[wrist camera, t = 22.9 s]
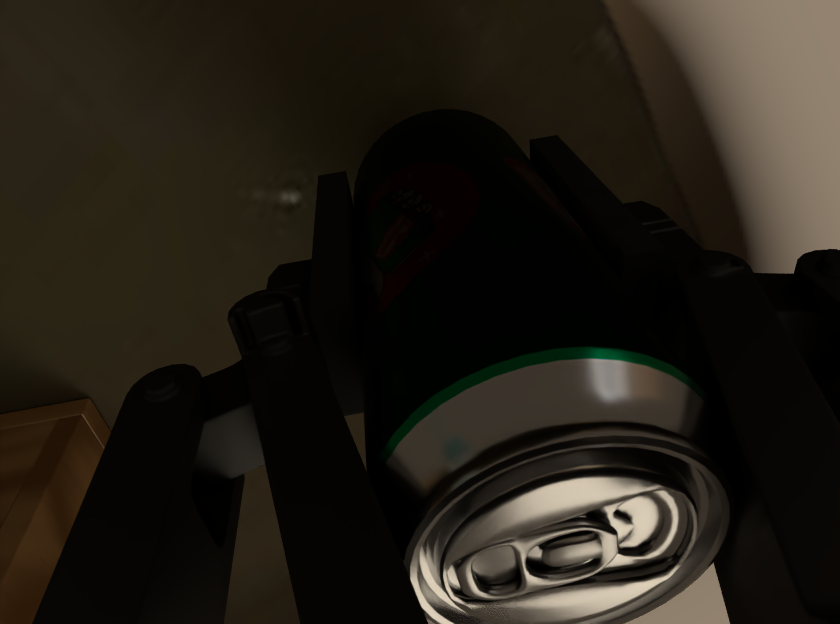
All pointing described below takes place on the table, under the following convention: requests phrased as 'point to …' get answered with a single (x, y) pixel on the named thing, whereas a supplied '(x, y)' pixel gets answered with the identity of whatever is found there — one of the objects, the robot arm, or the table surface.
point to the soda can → (520, 395)
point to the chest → (42, 495)
